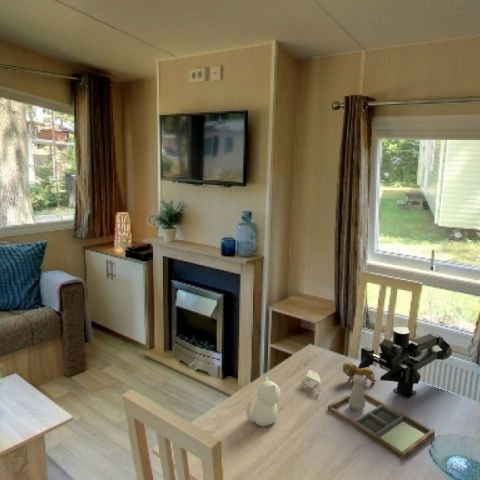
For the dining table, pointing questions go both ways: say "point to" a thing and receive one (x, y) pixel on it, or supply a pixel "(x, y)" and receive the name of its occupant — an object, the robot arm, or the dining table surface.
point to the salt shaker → (357, 394)
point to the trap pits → (380, 420)
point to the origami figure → (312, 378)
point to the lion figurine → (357, 372)
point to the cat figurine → (265, 404)
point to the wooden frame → (402, 455)
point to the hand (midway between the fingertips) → (369, 372)
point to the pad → (402, 436)
